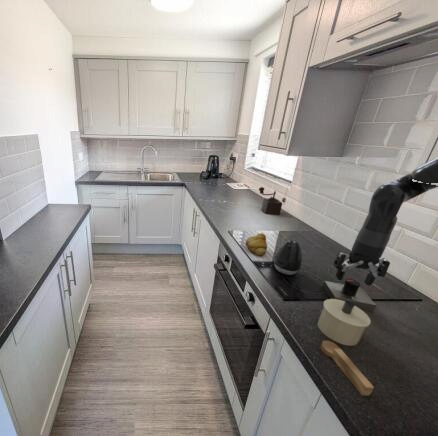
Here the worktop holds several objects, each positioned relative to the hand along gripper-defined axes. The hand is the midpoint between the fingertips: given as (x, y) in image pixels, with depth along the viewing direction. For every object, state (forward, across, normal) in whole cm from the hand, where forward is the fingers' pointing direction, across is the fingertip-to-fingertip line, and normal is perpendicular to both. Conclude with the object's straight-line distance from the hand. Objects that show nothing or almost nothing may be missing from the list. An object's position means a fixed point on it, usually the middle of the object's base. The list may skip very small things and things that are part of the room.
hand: (352, 281), depth 83 cm
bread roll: (+8, -28, +28) cm, 40 cm away
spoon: (+8, -14, -33) cm, 37 cm away
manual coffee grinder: (+8, -11, +97) cm, 98 cm away
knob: (+5, 0, 0) cm, 5 cm away
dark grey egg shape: (+8, -18, +12) cm, 23 cm away
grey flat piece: (+8, 0, 0) cm, 8 cm away
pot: (+8, -10, -19) cm, 23 cm away
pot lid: (0, -10, -19) cm, 21 cm away
